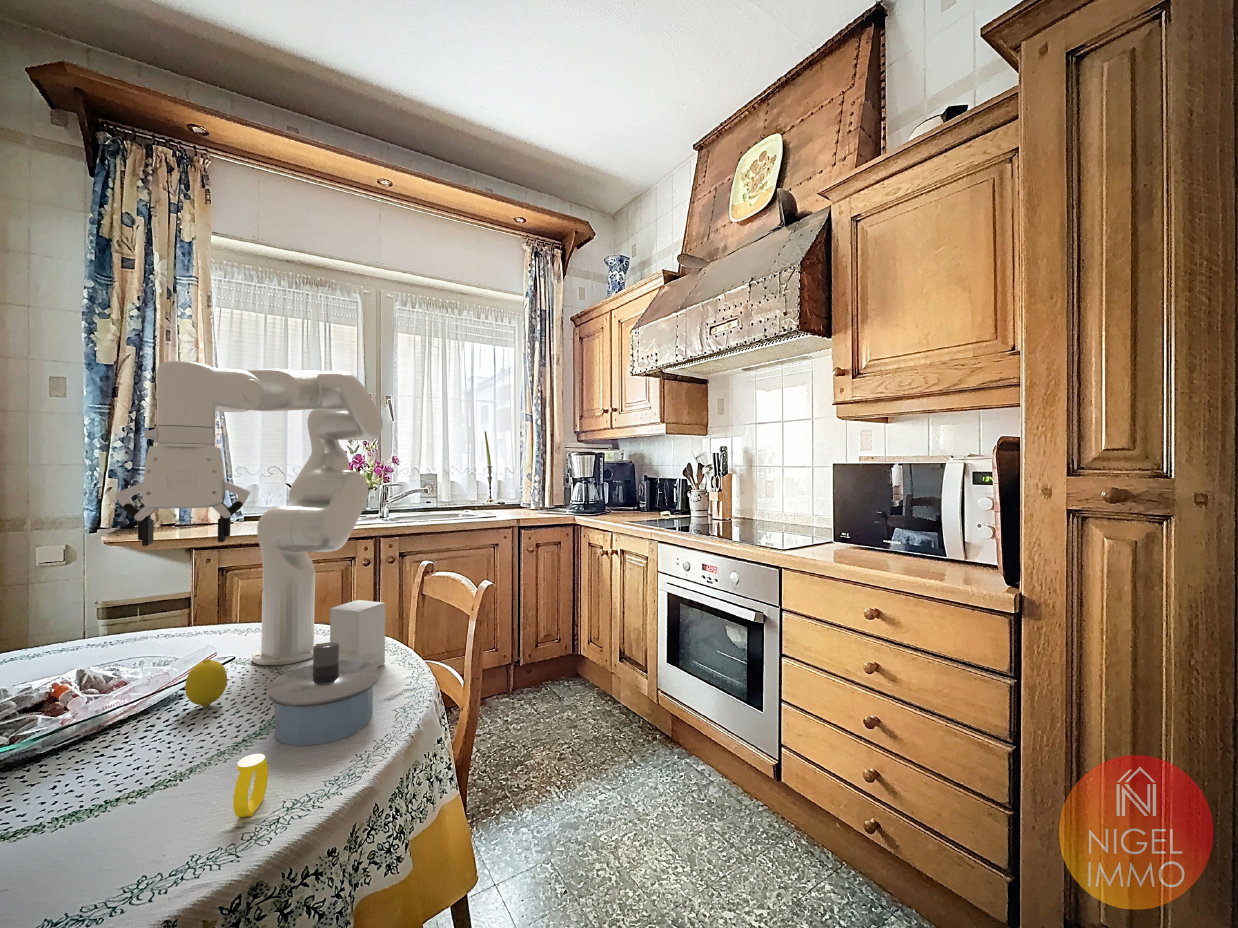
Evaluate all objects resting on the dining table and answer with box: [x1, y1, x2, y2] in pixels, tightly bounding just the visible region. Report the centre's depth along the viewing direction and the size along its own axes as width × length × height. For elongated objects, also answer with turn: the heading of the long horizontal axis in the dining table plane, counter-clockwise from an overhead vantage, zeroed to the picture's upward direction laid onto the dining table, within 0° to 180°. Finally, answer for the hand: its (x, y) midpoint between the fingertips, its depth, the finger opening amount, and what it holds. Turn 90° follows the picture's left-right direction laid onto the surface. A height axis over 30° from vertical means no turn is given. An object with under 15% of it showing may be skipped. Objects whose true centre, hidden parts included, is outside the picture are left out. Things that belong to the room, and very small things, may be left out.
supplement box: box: [329, 599, 386, 668], centre depth 108 cm, size 7×7×13 cm
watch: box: [232, 753, 269, 818], centre depth 64 cm, size 6×3×6 cm, turn 13°
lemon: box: [184, 658, 228, 708], centre depth 90 cm, size 6×6×8 cm
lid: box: [268, 641, 379, 707], centre depth 84 cm, size 15×15×6 cm
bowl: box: [274, 686, 374, 747], centre depth 84 cm, size 13×13×6 cm
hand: (185, 542), depth 88 cm, fingers open, 9 cm apart
